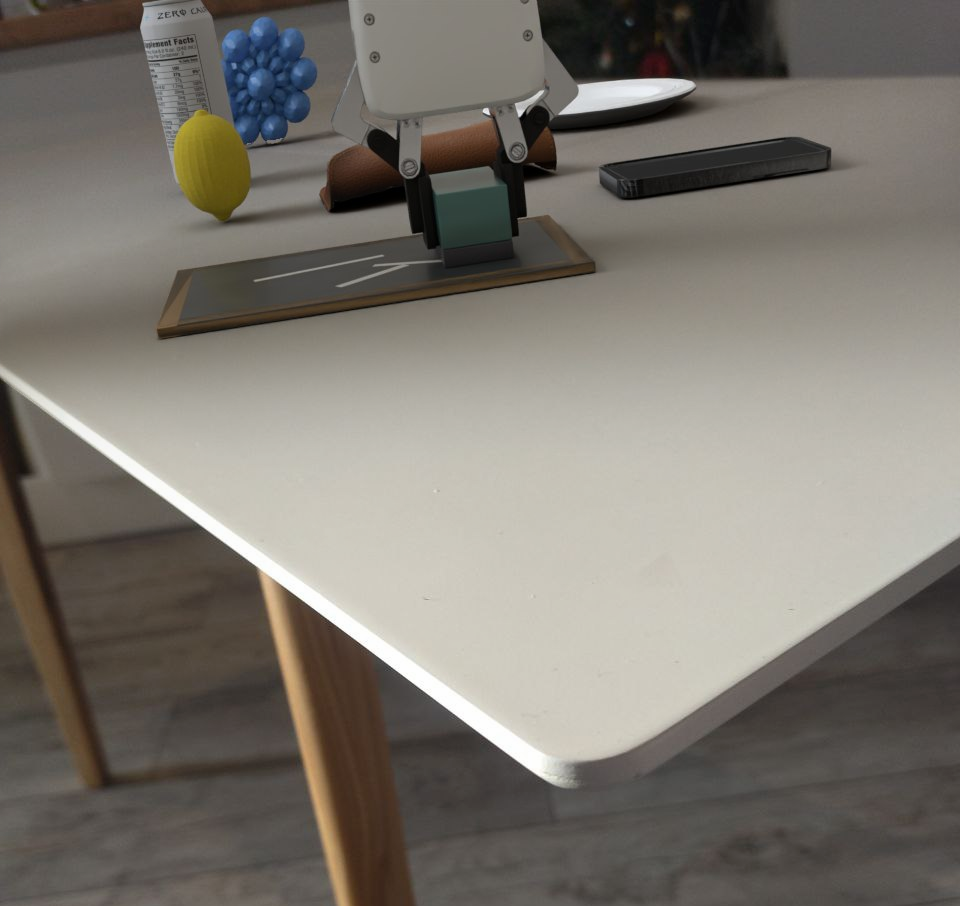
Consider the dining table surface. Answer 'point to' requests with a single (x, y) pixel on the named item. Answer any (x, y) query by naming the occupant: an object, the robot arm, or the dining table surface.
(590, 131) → the dining table surface
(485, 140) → the sunglasses case
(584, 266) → the slate board
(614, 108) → the plate
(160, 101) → the energy drink can
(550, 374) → the dining table surface
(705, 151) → the phone
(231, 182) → the lemon
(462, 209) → the eraser
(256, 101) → the grapes
